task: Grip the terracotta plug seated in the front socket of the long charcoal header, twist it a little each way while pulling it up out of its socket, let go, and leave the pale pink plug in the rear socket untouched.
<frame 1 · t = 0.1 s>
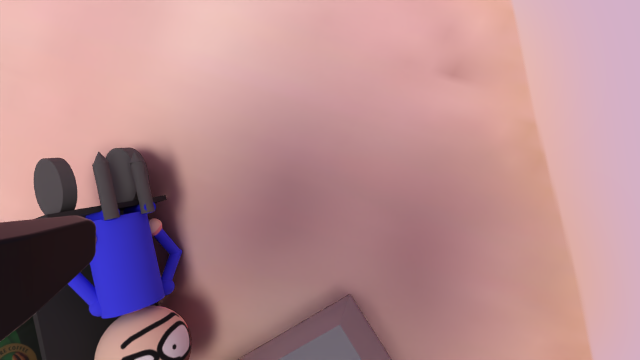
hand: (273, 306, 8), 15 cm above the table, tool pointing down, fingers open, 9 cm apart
coffee jar: (66, 333, 28), on the table
character figurine: (157, 254, 26), on the table
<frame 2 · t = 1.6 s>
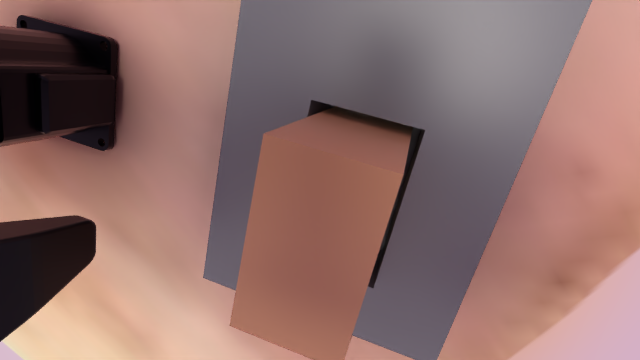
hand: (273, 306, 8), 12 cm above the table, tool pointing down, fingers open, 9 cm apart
terracotta plug: (339, 206, 14), point 5 cm above the table, slide at 0.0 cm
header: (395, 47, 17), on the table
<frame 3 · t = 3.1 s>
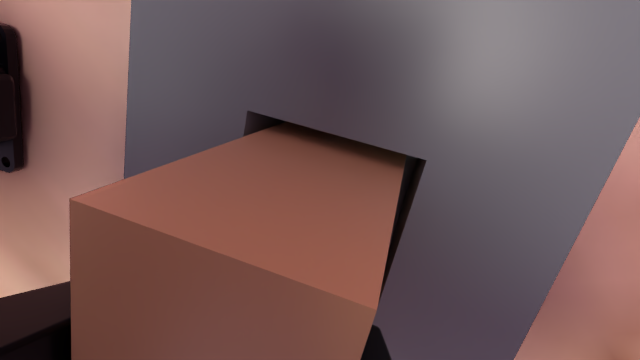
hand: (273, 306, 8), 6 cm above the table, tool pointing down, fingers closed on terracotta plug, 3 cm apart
terracotta plug: (292, 277, 9), point 5 cm above the table, slide at 0.0 cm, touching gripper
header: (383, 33, 12), on the table
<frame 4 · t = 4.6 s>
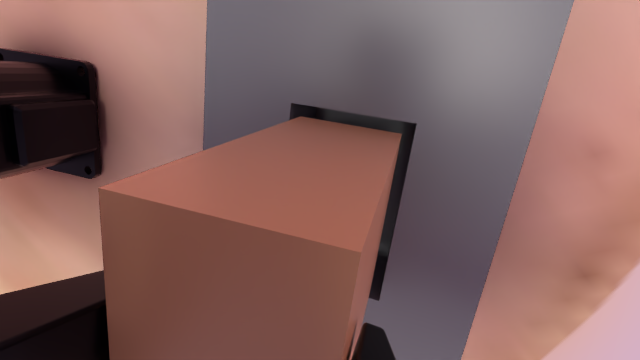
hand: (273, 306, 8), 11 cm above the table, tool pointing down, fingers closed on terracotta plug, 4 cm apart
terracotta plug: (300, 263, 9), point 9 cm above the table, slide at 3.4 cm, touching gripper
header: (380, 41, 16), on the table
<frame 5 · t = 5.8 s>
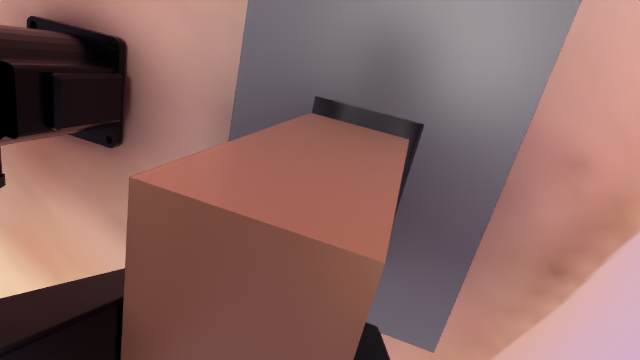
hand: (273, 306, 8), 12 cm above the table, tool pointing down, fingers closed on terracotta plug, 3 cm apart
terracotta plug: (303, 259, 9), point 10 cm above the table, slide at 5.1 cm, touching gripper
header: (395, 46, 17), on the table
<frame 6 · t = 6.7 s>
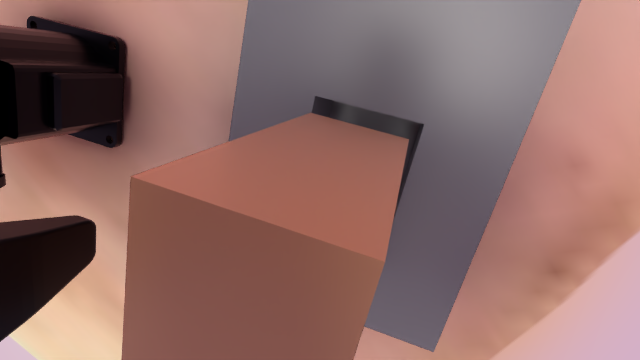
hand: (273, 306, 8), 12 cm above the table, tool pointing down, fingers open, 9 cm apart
terracotta plug: (303, 258, 9), point 10 cm above the table, slide at 5.1 cm
header: (395, 46, 17), on the table
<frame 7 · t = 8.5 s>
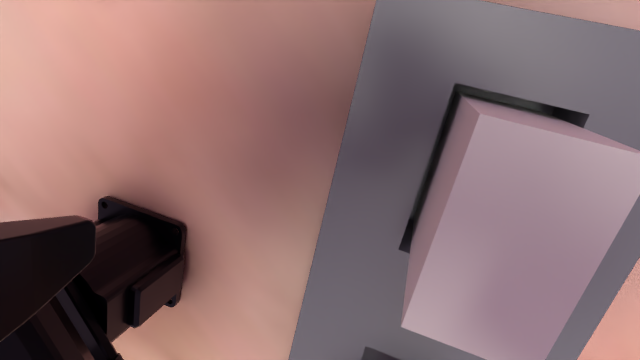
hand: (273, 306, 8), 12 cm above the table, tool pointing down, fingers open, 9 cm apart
header: (430, 265, 20), on the table
pale pink plug: (485, 197, 13), point 5 cm above the table, slide at 0.0 cm
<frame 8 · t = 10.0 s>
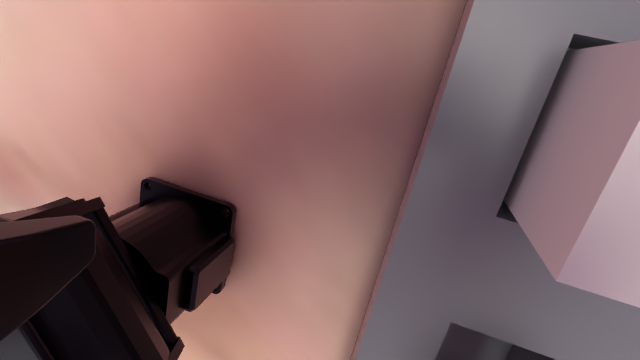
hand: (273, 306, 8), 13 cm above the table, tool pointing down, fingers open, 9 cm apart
header: (503, 242, 19), on the table
pale pink plug: (607, 154, 12), point 5 cm above the table, slide at 0.0 cm
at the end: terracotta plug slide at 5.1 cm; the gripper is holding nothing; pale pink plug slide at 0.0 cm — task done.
